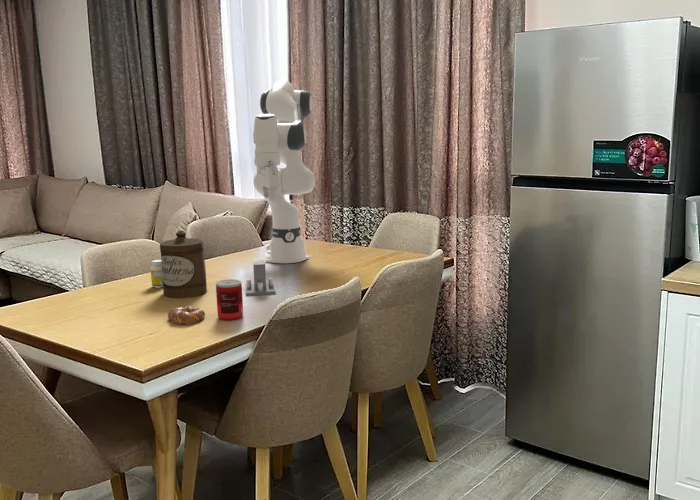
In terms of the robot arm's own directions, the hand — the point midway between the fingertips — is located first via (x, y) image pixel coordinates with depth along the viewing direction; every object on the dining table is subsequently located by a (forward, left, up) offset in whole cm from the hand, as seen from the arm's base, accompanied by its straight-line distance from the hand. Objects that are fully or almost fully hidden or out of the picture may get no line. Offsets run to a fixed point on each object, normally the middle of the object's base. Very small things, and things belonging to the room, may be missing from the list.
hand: (269, 199), depth 246 cm
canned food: (+40, -22, -31) cm, 55 cm away
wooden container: (+3, -32, -31) cm, 45 cm away
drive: (+10, -7, -30) cm, 32 cm away
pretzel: (+37, -35, -31) cm, 60 cm away
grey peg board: (+11, -7, -31) cm, 33 cm away
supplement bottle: (-10, -40, -31) cm, 51 cm away
